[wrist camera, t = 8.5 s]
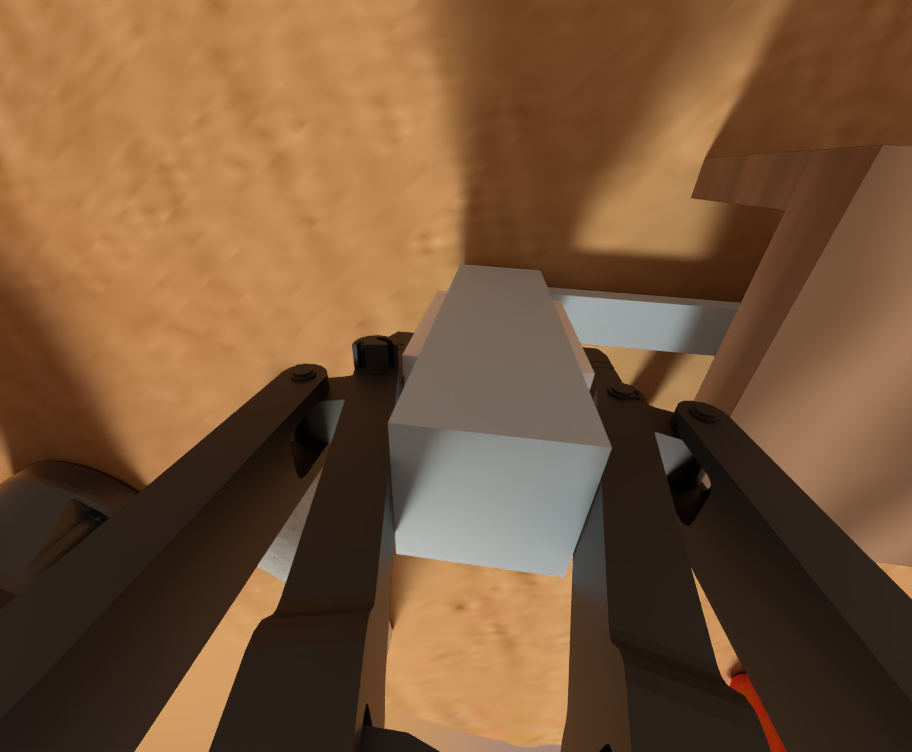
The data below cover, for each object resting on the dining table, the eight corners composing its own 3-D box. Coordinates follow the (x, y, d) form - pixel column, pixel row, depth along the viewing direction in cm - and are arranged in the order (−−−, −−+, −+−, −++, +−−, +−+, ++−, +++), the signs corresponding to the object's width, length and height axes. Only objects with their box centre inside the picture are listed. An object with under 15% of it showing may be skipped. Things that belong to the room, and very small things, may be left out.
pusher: (455, 360, 20) (398, 587, 9) (462, 232, 17) (383, 349, 6) (933, 406, 18) (1597, 764, 7) (1055, 273, 15) (2722, 574, 4)
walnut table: (612, 421, 22) (663, 534, 15) (705, 158, 15) (883, 144, 8) (817, 443, 21) (971, 574, 14) (1020, 174, 14) (1534, 175, 7)
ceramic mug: (291, 426, 25) (216, 516, 19) (391, 474, 27) (354, 575, 20) (261, 503, 31) (194, 594, 24) (346, 540, 32) (304, 636, 25)
